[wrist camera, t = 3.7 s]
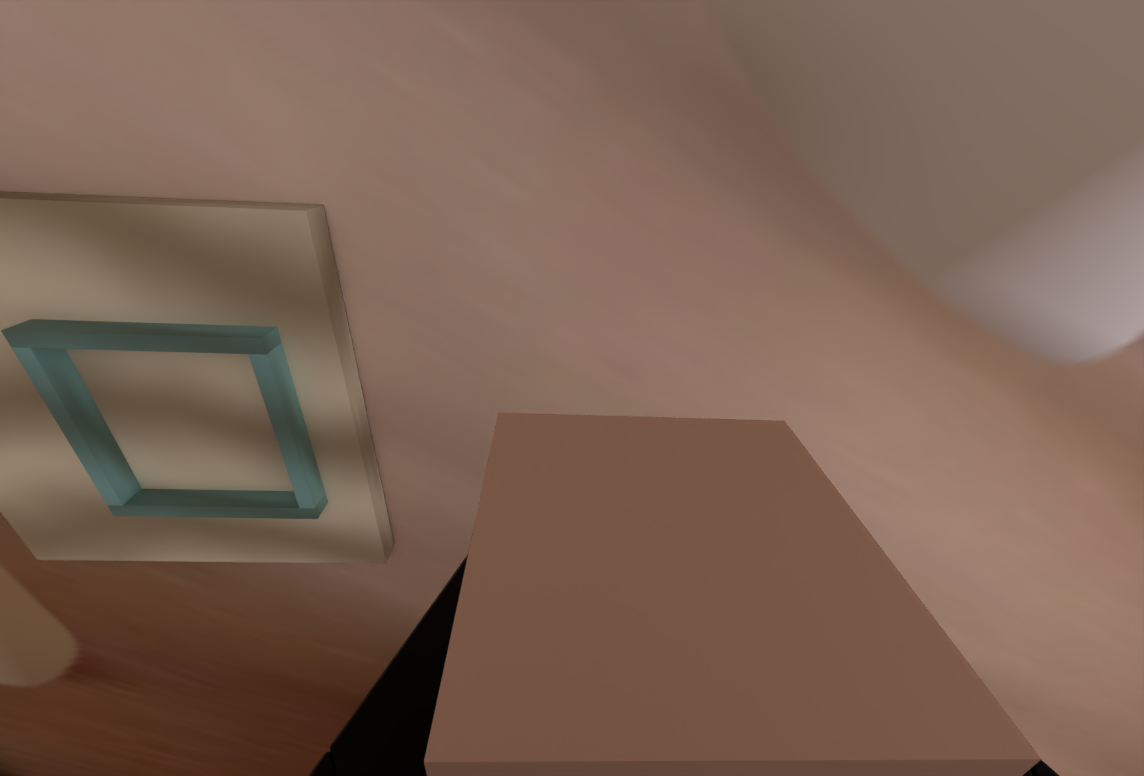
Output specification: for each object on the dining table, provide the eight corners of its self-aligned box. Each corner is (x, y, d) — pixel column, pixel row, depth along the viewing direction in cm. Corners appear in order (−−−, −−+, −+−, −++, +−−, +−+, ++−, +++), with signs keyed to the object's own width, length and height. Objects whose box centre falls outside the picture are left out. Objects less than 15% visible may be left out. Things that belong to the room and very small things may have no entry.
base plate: (394, 543, 23) (379, 581, 21) (61, 539, 23) (15, 578, 21) (323, 205, 15) (289, 216, 13) (-192, 183, 15) (-304, 192, 13)
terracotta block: (725, 603, 11) (839, 935, 6) (505, 600, 10) (466, 943, 6) (784, 420, 8) (1041, 758, 4) (498, 413, 8) (424, 762, 4)
